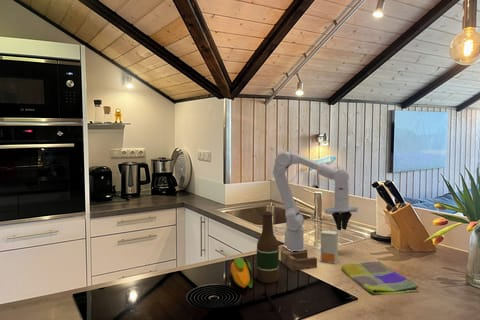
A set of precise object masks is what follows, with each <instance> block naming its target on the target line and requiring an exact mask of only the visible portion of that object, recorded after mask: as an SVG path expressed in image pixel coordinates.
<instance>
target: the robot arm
mask: <svg viewBox="0 0 480 320" xmlns="http://www.w3.org/2000/svg"><path fill="white" fill-rule="evenodd" d="M298 164H299V165H301V166H305V167H306V168H307V167H308V168H310V169H313V170H315V171H316V172H317V174H318V175H320V176H322V177H324V178H326V179H329V180H332V181H334V207H330V208H325V209H324V211H325V212H324V214H326V215H331V216H332V217H333V220H334V222H335V226H336V229H337V231H342V230H344V231H346V230H347V227H348V223H349V221H350V219H351V217H352V215H353V213H357V212H358V209H359V208H358V207H357V206H349V203H350V202H349V200H350V199H349V196H350V195H349V193H350V191H349V182H348V181H349V179H350V174H349V171H347V170H346V169H344V168H341V167H340V166H337V167H336V166H334V165H332V164H330V162H328V161H323V162H317V161H315V160H313V159H311V158H309V157H306V156H303V155H301V154H300V153H296V152H292V151H290V150H286V151H281V152H279V153H278V154H277V156H275V159H274V166H273V171H272V175H273V178H274V181H275V183H276V186H277V190H278V192H279V195H280V199H281V201H282V203H283V204H282V205H283V207H284V210H285V219H286V221H285V222H286V223H285V226H286V228H285V231H284V245H285V246H287V248H288V249H290V250H289V251H288V252H290V251H291V252H290V253H294V252H293V251H299V252H303V251H302V250H307V251H308V249H307V248H306V247H304V236H305V235H304V227H303V224H304V223H305V218H304V216H303V214H302V213H301V212H300V210H299V208H298V207H297V205H296V201H295V199H294V196H293V192H292V190H291V187H290V185H289V181H288V179H287V176H286V173H287V171H288V169H289V168H290V167H291V166H292V165H298ZM304 248H305V249H304Z"/></svg>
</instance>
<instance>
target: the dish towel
mask: <svg viewBox="0 0 480 320" xmlns="http://www.w3.org/2000/svg"><path fill="white" fill-rule="evenodd" d="M341 271H342V272H343V273H344V274H345V275H346V276H347V277H348V278H349V279H350V280H352V281H353V282H354V283H356V284H357V285H358V286H360V287H361V288H362V289H364V290H365V291H366V292H367V291H368V292H370V293H371V294H373V295H379V296H380V295H381V296H382V295H394V294H395V295H398V294H409V293H420V290H419V289H418V288H419V284H417V283H416V282H414V281H412V280H410V279H409V278H407V277H406V276H403V275H401V274H399V273H398V272H396V271H395V270H393V269H392V268H389V267H388V266H386V265H385V263H382V262H380V261H371V262H360V263H347V264H343V265H342V267H341Z"/></svg>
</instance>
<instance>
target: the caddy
mask: <svg viewBox="0 0 480 320" xmlns="http://www.w3.org/2000/svg"><path fill="white" fill-rule="evenodd" d="M280 262H281V263H282V264H283V265H285V266H286V268H288V269H289V270H290V271H292V272H297V271H298V270H299V271H300V270H307V269H315V268H318V258H317V257H308V251H299V252H288V251H286V250H284V249H282V250H280Z"/></svg>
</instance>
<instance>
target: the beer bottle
mask: <svg viewBox="0 0 480 320" xmlns="http://www.w3.org/2000/svg"><path fill="white" fill-rule="evenodd" d="M261 214H262V215H261V216H262V230H261V235H260V236H259V238H258V241H257V243H256V274H257V275H256V276H257V277H256V278H257V280H258V281H260V282H261V283H264V284H273V283H277V282H278V280H279V279H280V252H279V251H280V248H279V241H278V239H277V237H276V236H275V234H274V233H275V232H274V228H273V227H274V225H273V215H274V214H273V212H271V211H263V212H262V213H261Z"/></svg>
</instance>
